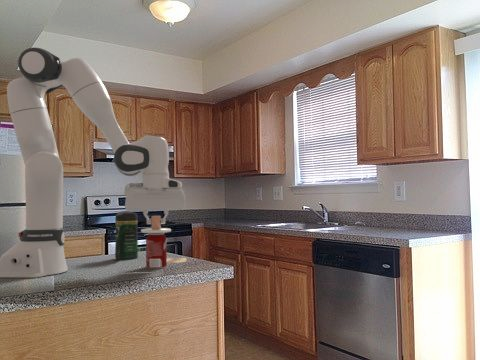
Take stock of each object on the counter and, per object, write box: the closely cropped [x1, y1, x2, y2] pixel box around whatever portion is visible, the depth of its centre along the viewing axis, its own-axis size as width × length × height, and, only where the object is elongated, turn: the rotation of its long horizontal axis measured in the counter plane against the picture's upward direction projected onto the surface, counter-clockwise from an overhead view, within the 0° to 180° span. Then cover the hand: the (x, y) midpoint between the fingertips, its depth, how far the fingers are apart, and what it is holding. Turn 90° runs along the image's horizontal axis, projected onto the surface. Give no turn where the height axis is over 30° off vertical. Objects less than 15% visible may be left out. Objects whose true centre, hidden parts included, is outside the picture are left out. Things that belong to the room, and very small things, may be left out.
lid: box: [140, 215, 172, 234], centre depth 144 cm, size 10×10×5 cm
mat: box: [167, 257, 187, 264], centre depth 157 cm, size 10×10×1 cm
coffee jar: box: [114, 210, 139, 261], centre depth 165 cm, size 10×8×19 cm
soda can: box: [145, 233, 168, 270], centre depth 144 cm, size 7×7×12 cm
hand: (156, 223), depth 144 cm, fingers open, 3 cm apart
